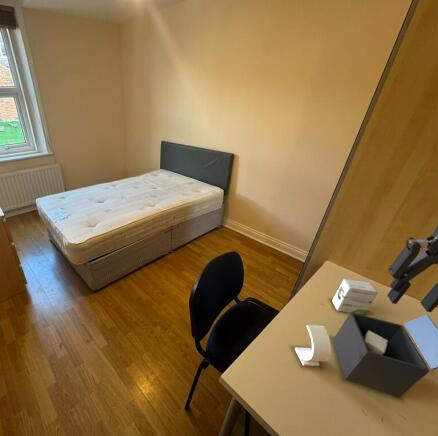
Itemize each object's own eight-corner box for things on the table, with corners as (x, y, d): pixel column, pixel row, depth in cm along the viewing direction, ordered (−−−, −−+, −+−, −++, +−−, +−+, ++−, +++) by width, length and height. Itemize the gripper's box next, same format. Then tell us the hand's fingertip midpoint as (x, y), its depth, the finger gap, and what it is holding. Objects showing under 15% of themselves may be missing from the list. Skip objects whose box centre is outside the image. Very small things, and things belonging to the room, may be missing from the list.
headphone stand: (309, 349, 73) (323, 325, 67) (320, 369, 68) (337, 345, 62) (294, 348, 73) (307, 325, 67) (304, 369, 68) (319, 345, 62)
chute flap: (403, 323, 65) (404, 324, 65) (431, 368, 54) (432, 369, 54) (426, 314, 61) (428, 315, 61) (460, 360, 51) (462, 361, 51)
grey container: (379, 352, 72) (402, 325, 65) (399, 398, 61) (430, 371, 55) (333, 339, 76) (350, 311, 69) (345, 379, 65) (367, 352, 59)
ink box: (357, 304, 87) (371, 282, 82) (364, 315, 83) (380, 292, 77) (331, 300, 89) (343, 277, 84) (336, 310, 85) (350, 287, 79)
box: (352, 351, 72) (368, 329, 66) (370, 362, 69) (388, 339, 63) (347, 362, 69) (364, 340, 63) (366, 374, 66) (385, 352, 60)
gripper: (421, 221, 44) (366, 303, 56) (571, 242, 38) (473, 329, 49) (402, 205, 50) (355, 282, 62) (528, 220, 44) (450, 303, 55)
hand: (408, 303), depth 56 cm, fingers open, 6 cm apart
